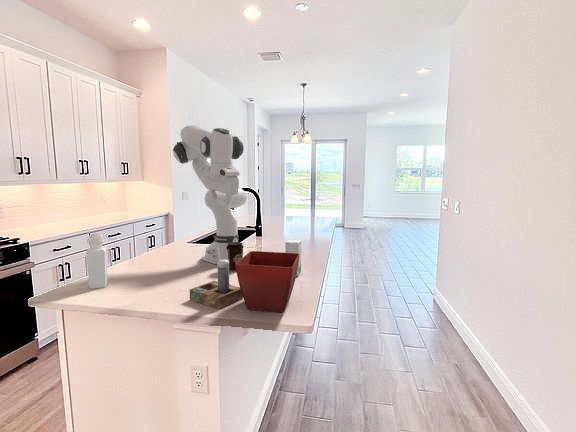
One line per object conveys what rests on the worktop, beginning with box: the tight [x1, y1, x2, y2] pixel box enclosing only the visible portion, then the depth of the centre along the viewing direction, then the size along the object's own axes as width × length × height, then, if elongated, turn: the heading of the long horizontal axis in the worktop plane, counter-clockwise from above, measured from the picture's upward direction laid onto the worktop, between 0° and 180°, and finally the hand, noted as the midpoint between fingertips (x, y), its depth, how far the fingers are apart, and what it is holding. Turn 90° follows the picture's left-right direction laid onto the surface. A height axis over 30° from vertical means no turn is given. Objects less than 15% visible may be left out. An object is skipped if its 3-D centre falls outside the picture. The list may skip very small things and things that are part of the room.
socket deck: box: [189, 280, 244, 310], centre depth 119 cm, size 15×12×4 cm
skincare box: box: [284, 239, 302, 277], centre depth 150 cm, size 8×7×16 cm
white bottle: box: [85, 232, 108, 290], centre depth 131 cm, size 6×6×22 cm
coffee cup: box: [226, 241, 244, 272], centre depth 157 cm, size 9×8×13 cm
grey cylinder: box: [216, 259, 230, 294], centre depth 116 cm, size 4×4×14 cm
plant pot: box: [235, 250, 300, 313], centre depth 113 cm, size 19×19×17 cm
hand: (220, 201), depth 138 cm, fingers open, 8 cm apart
